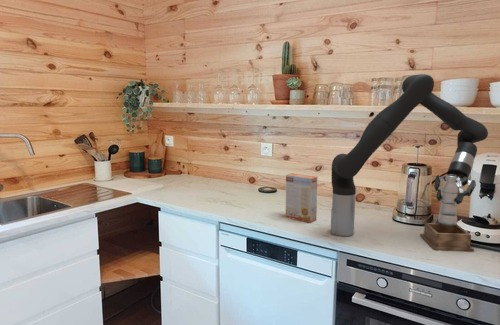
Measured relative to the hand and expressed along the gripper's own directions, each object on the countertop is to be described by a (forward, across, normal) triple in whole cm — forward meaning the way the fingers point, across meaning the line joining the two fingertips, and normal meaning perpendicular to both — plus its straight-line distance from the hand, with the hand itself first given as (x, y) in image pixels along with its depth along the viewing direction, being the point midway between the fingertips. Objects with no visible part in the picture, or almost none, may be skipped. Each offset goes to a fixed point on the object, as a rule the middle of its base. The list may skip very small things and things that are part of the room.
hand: (447, 201), depth 134 cm
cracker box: (+23, -58, +2) cm, 63 cm away
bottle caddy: (+11, 0, +13) cm, 17 cm away
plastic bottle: (+6, 0, +9) cm, 11 cm away
